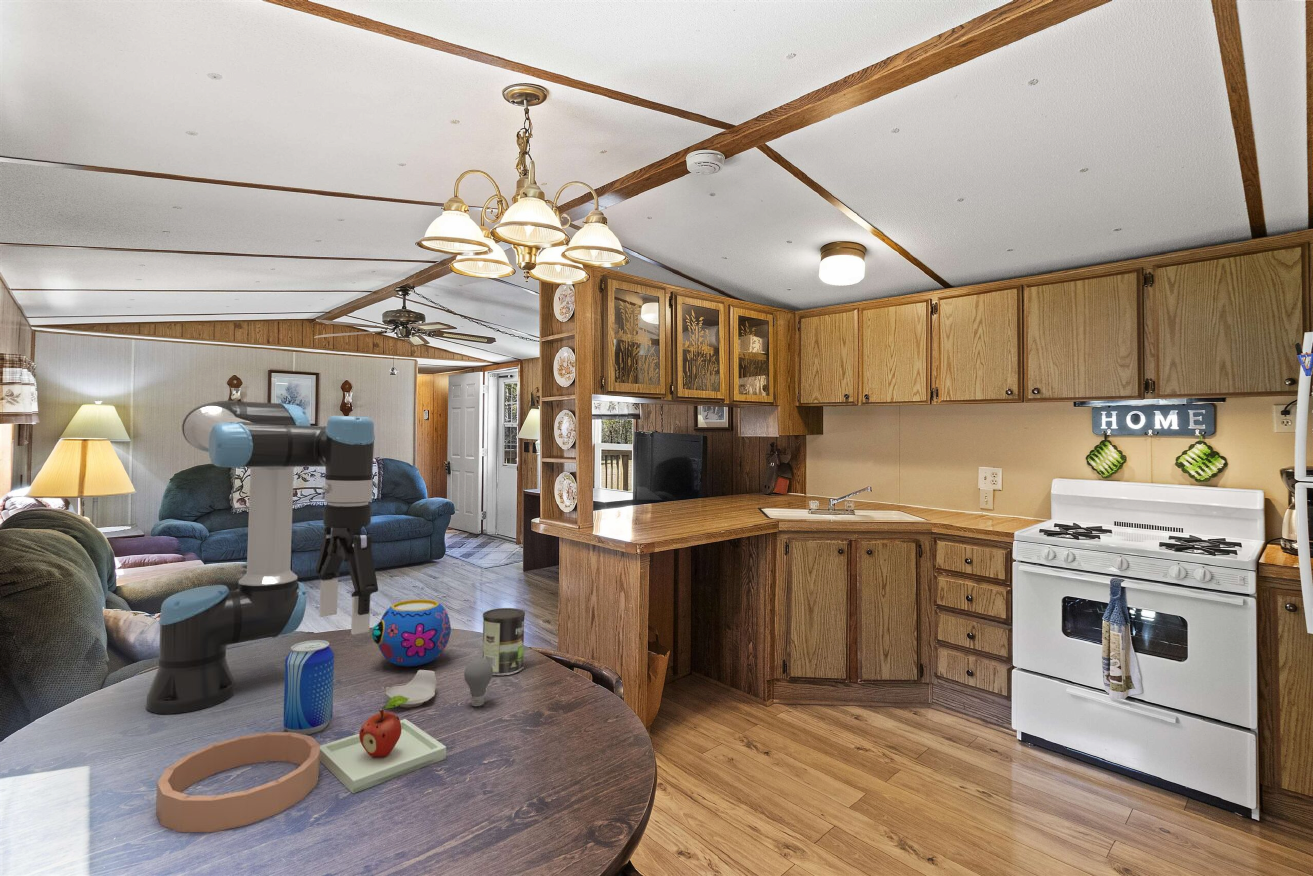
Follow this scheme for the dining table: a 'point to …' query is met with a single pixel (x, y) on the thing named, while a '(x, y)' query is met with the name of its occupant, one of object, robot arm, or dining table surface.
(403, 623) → the ceramic pot
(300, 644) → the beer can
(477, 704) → the light bulb
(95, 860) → the dining table surface
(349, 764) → the tray
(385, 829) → the dining table surface
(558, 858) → the dining table surface
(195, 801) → the ring band
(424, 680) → the pottery shard
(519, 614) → the coffee can
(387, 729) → the apple
